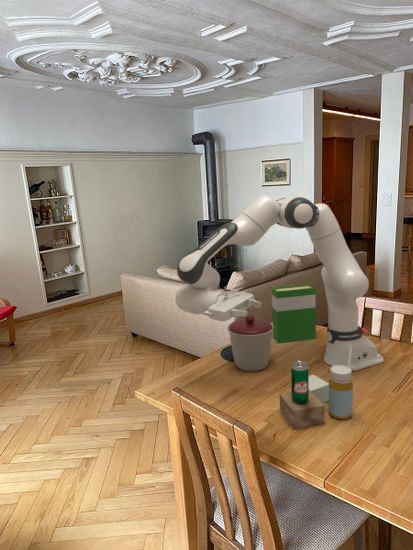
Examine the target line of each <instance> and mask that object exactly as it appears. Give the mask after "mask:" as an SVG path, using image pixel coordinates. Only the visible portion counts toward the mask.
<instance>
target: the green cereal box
mask: <svg viewBox="0 0 413 550" xmlns="http://www.w3.org/2000/svg"><path fill="white" fill-rule="evenodd" d="M316 290H317V289H316V287H312V286H311V284H310V283H306V284H304V283H303V284H294V285H286V286H284V285H283V286H274V287H271V305H272V306H271V310H272V311H271V313H272V314H271V315H272V316H271V317H272V318H271V319H272V324H273V326H274V329H273V330H272V339H274V340H275V342H276V343H277V344H278V345H279V344H285V343H286V344H287V343H296V342H304V341H310V340H311V341H312V340H316V339H317V338H316V337H317V335H316V334H317V331H316V326H317V325H316V324H317V323H316V320H317V319H316V318H317V317H316V316H317V315H316V310H317V309H316V296H317V294H316V293H317V292H316Z"/></svg>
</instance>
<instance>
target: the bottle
mask: <svg viewBox="0 0 413 550" xmlns="http://www.w3.org/2000/svg"><path fill="white" fill-rule="evenodd" d="M329 369H330V371H329V372H330V373H329V374H330V375H329V381H328V383H329V401H328V413H329V415H330V416H331V417H333V418H335V419H337V420H348V419H350V418H351V417H352V416H353V403H354V402H353V401H354V400H353V399H354V384H353V383H354V382H353V381H352V380H353V372H352V371H353V370H351V368H349V367H347V366H344V365H335V366H331V367H330V368H329Z"/></svg>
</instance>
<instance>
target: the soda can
mask: <svg viewBox="0 0 413 550" xmlns="http://www.w3.org/2000/svg"><path fill="white" fill-rule="evenodd" d="M290 368H291V369H290V372H291V373H290V378H291V392H292V400H293V401H294V402H295V403H298V404H304V403H306V402H307V401H308V400H309V376H310V374H309V371H310V370H309V365H308V363H307V362H305V361H303V360H302V361H301V360H297V361H294V362H292V365H291V367H290Z"/></svg>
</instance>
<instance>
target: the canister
mask: <svg viewBox="0 0 413 550" xmlns="http://www.w3.org/2000/svg"><path fill="white" fill-rule="evenodd" d="M226 329H227V331H228V334H229V340H230V345H231V352H232V356H233V360H234V364H235V365H236V367H237V368H238V369H239V370H242V371H245V372H258V371H261V370H263V369H265V368H266V367H267V366H268V365H269V362H270V358H271V357H270V356H271V348H272V347H271V346H272V339H273V329H274V326H273V322H270V321H267V320H266V319H264V318H258V317H254V315H252V314H248V315H247V316H246V317H242V318H240V319H237V320H234V321H232V322H231V323H229V324H228V325H227V327H226Z"/></svg>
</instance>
